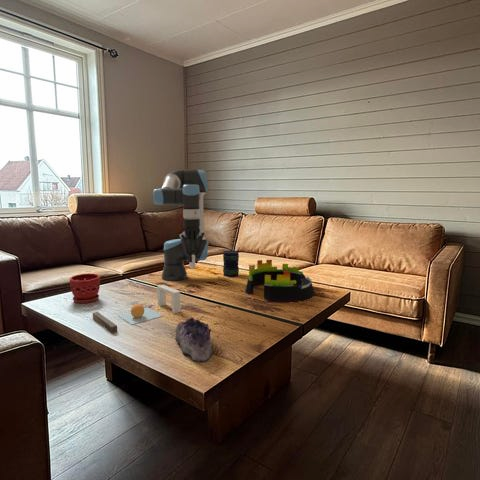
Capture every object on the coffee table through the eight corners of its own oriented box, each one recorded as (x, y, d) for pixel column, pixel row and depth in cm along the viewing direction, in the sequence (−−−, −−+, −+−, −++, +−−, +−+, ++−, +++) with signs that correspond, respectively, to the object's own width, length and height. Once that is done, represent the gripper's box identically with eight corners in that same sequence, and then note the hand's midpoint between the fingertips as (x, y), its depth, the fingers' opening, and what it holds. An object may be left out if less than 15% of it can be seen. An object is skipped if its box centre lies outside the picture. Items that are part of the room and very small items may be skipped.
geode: (225, 358, 109) (221, 330, 106) (190, 370, 104) (185, 341, 102) (204, 332, 127) (201, 307, 125) (174, 341, 122) (170, 316, 120)
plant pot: (65, 302, 162) (63, 277, 160) (88, 295, 173) (87, 272, 172) (83, 306, 156) (82, 281, 154) (107, 298, 167) (105, 275, 166)
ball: (129, 317, 143) (141, 313, 147) (135, 321, 139) (147, 316, 143) (127, 305, 142) (139, 301, 146) (133, 308, 138) (145, 304, 142)
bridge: (163, 303, 161) (163, 284, 159) (180, 311, 150) (180, 291, 149) (158, 305, 159) (157, 285, 157) (174, 313, 148) (174, 292, 147)
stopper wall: (97, 317, 143) (97, 311, 143) (117, 331, 128) (117, 325, 128) (92, 318, 142) (92, 312, 141) (112, 333, 127) (111, 326, 127)
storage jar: (241, 276, 213) (241, 252, 210) (226, 277, 209) (226, 253, 207) (235, 272, 222) (235, 250, 220) (221, 274, 218) (220, 251, 216)
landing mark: (147, 307, 155) (147, 307, 155) (163, 316, 144) (163, 315, 144) (117, 315, 145) (117, 314, 145) (131, 324, 135) (131, 324, 135)
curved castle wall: (315, 306, 159) (316, 274, 157) (238, 300, 166) (238, 270, 164) (315, 285, 195) (315, 259, 193) (251, 281, 202) (251, 256, 200)
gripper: (184, 219, 150) (185, 272, 153) (207, 218, 159) (208, 267, 162) (174, 218, 156) (176, 269, 159) (198, 217, 164) (199, 265, 168)
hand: (192, 268), depth 161 cm, fingers closed
